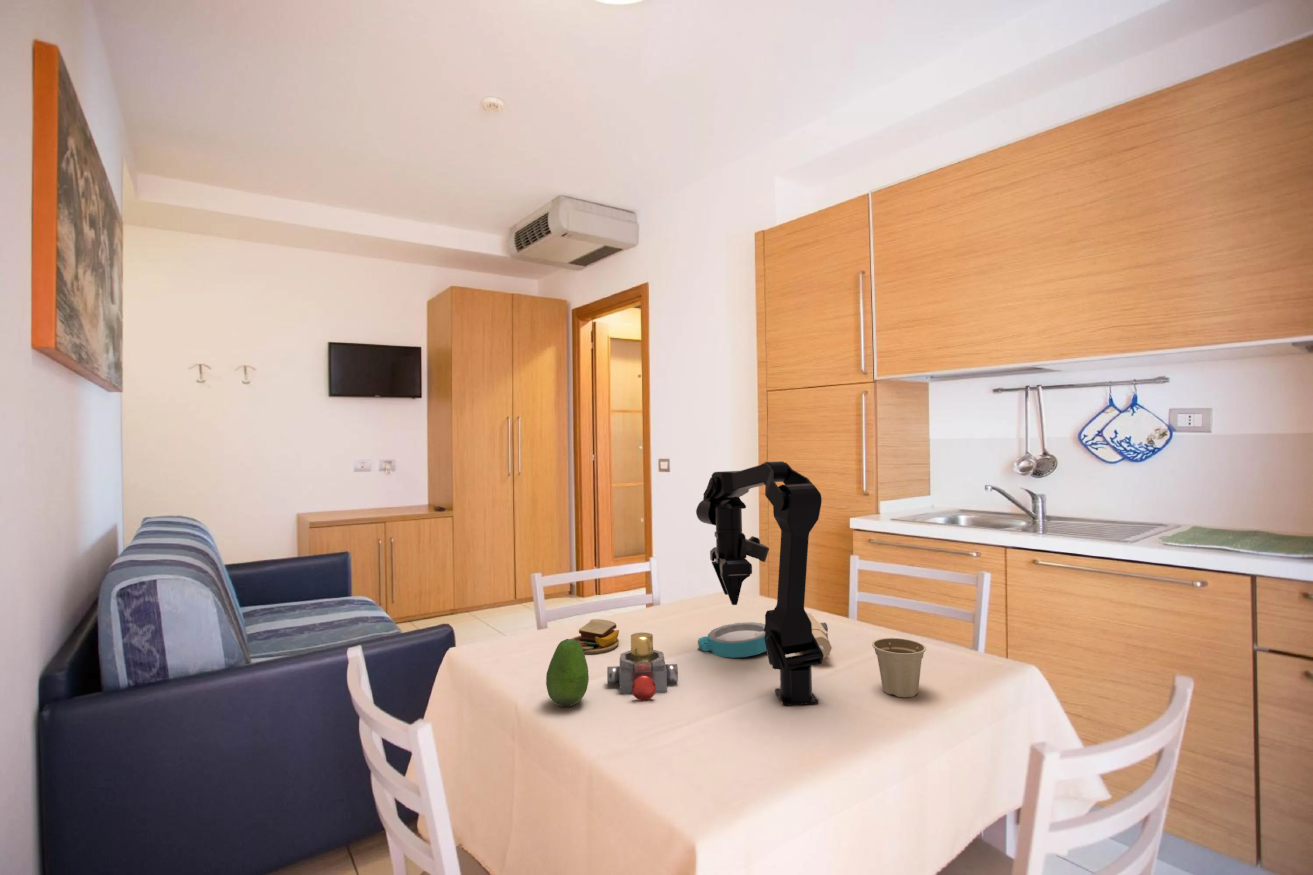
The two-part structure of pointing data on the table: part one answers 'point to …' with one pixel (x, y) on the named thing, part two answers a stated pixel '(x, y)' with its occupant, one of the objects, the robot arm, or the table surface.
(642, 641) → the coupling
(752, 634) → the butterfly valve
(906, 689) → the flower pot
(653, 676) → the valve
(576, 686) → the avocado
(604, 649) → the toy sandwich meal
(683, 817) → the table surface
